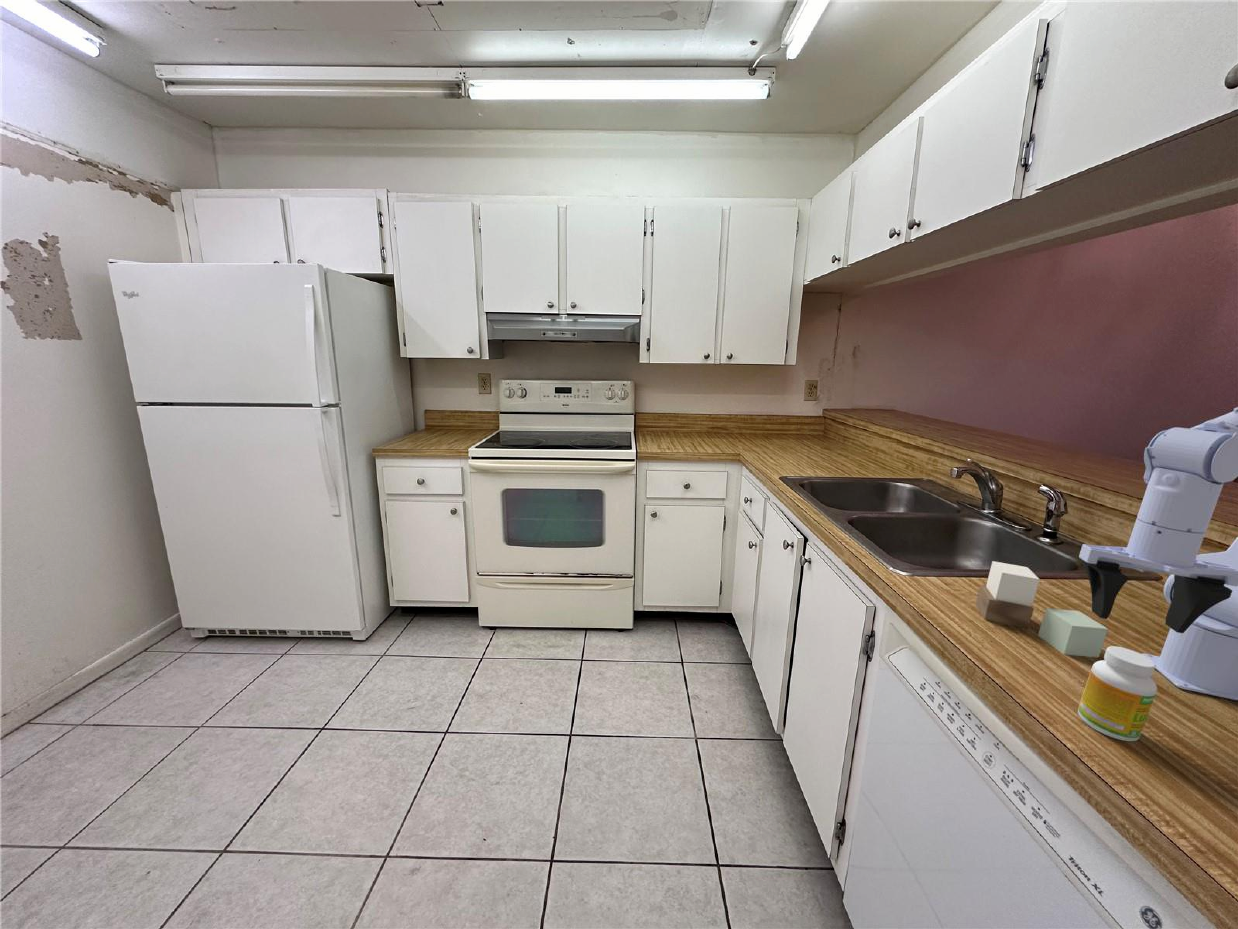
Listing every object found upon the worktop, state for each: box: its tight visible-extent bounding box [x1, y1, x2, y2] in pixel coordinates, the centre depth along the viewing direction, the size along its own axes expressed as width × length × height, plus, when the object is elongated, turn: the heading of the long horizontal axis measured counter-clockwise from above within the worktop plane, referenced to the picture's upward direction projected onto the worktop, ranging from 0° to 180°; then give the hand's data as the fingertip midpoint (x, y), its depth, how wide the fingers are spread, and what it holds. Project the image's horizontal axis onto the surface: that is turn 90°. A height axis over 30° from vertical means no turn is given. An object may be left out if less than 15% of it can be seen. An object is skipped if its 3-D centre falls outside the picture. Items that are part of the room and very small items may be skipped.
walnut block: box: [975, 584, 1035, 630], centre depth 81 cm, size 6×6×4 cm
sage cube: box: [1037, 608, 1109, 658], centre depth 73 cm, size 5×5×5 cm
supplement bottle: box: [1077, 645, 1158, 742], centre depth 56 cm, size 5×5×10 cm
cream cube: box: [985, 560, 1040, 607], centre depth 80 cm, size 5×5×5 cm
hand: (1135, 621), depth 62 cm, fingers open, 7 cm apart
